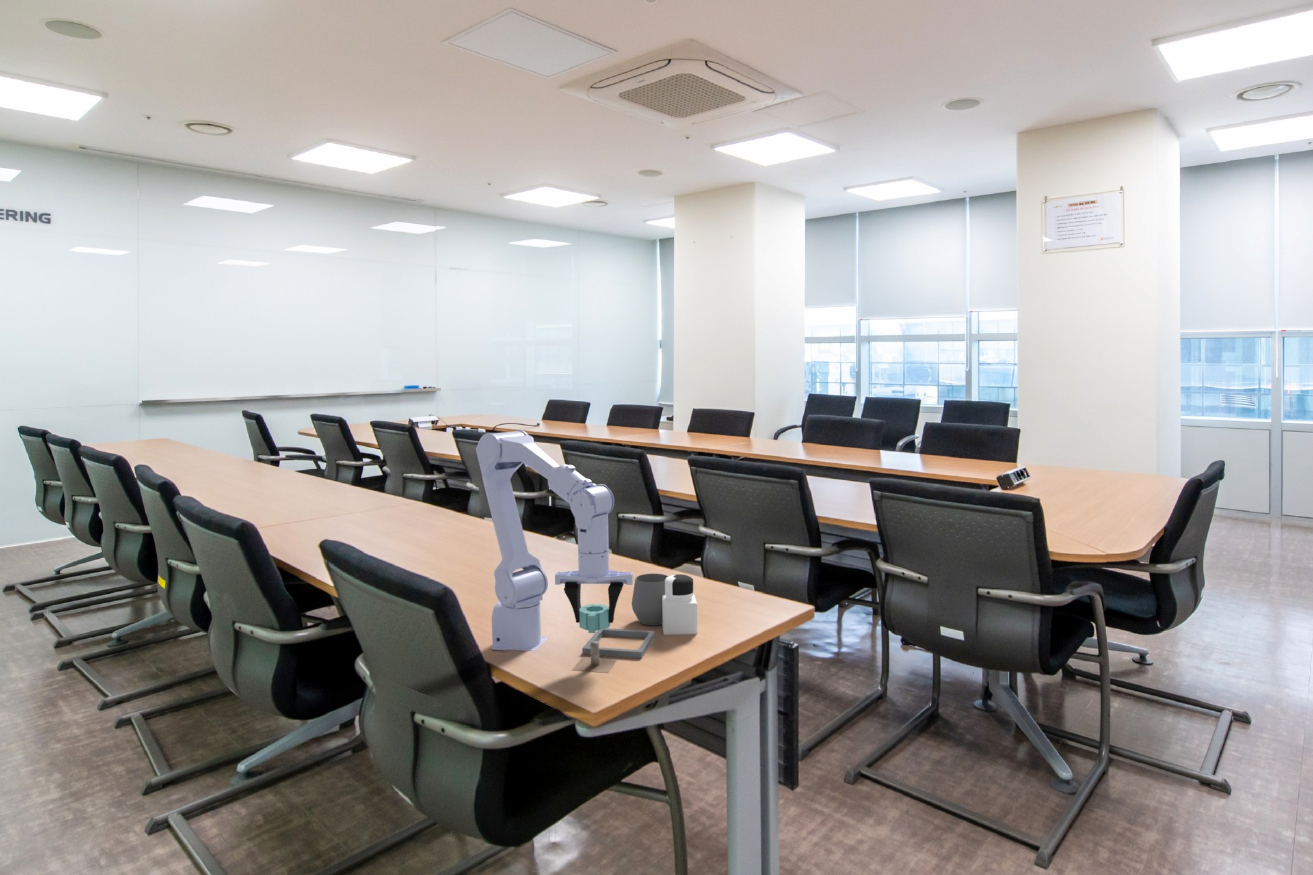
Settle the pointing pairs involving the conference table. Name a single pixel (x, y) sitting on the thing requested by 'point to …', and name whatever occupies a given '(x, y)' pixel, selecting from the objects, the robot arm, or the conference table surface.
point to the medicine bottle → (679, 606)
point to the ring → (594, 617)
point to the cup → (649, 598)
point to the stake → (595, 661)
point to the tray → (621, 652)
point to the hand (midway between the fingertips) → (594, 621)
